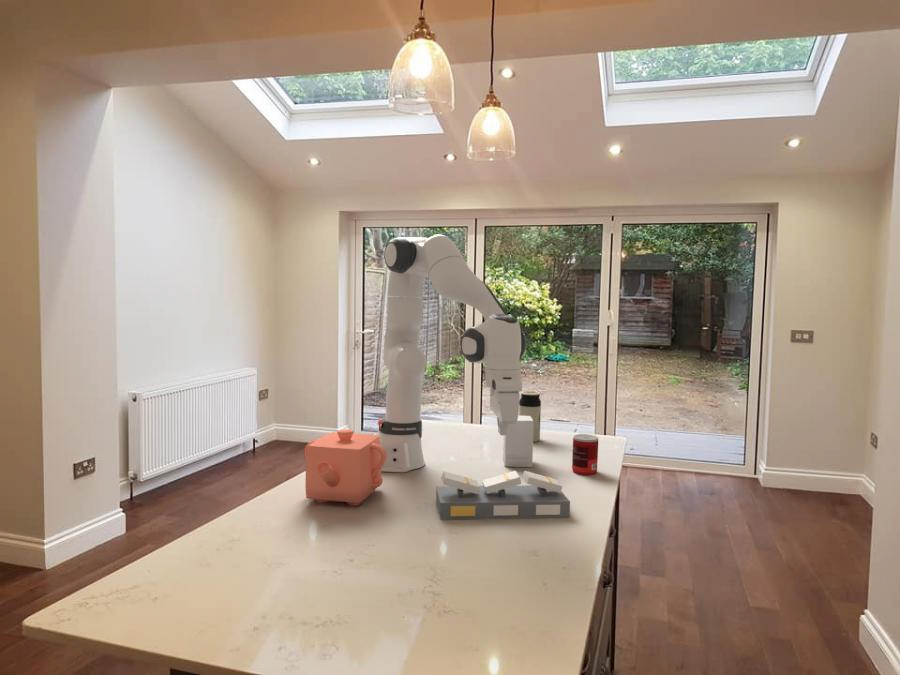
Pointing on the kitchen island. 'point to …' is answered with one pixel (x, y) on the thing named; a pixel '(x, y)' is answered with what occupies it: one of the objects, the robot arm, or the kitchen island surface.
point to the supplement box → (519, 443)
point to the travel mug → (531, 410)
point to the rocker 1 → (460, 482)
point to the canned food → (585, 454)
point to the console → (501, 503)
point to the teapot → (343, 467)
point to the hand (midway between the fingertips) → (502, 434)
